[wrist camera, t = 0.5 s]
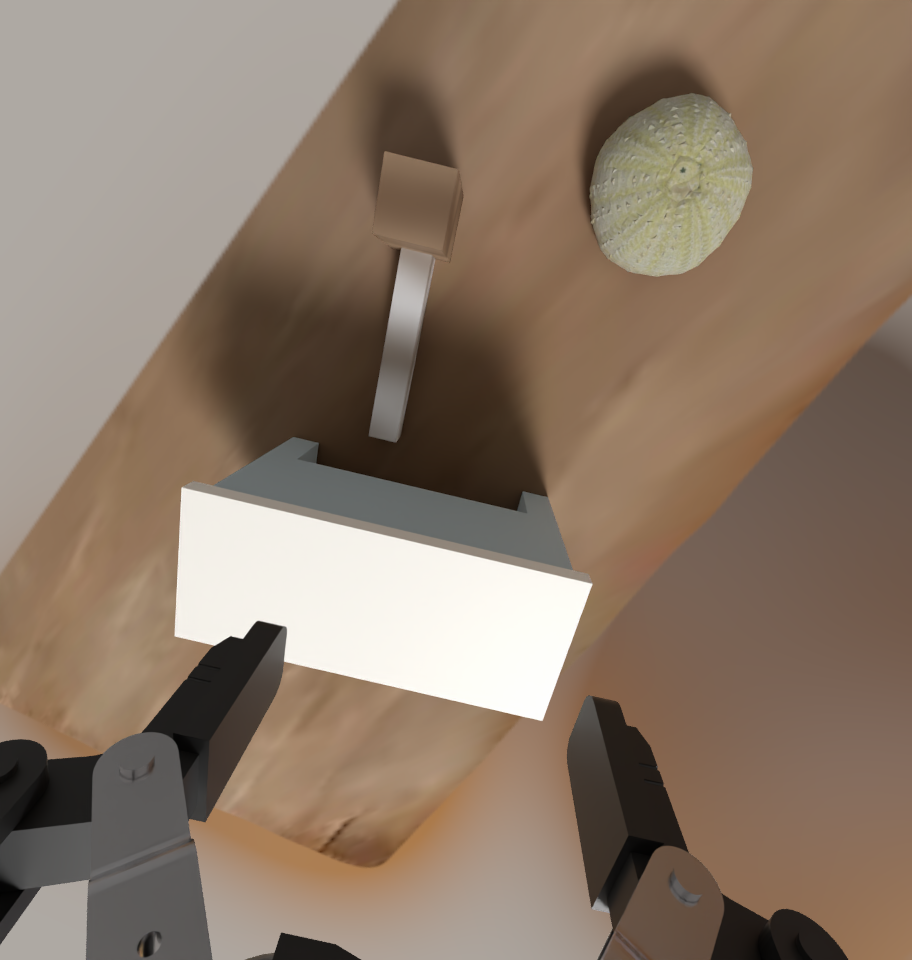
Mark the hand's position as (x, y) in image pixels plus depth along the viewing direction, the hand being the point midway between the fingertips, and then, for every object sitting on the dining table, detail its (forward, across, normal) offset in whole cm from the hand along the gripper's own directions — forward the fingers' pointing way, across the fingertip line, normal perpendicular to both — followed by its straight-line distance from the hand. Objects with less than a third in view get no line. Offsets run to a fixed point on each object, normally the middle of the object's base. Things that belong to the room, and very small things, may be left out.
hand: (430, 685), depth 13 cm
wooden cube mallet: (+25, +6, -7) cm, 27 cm away
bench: (+25, +3, +7) cm, 26 cm away
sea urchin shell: (+26, -8, -18) cm, 33 cm away
